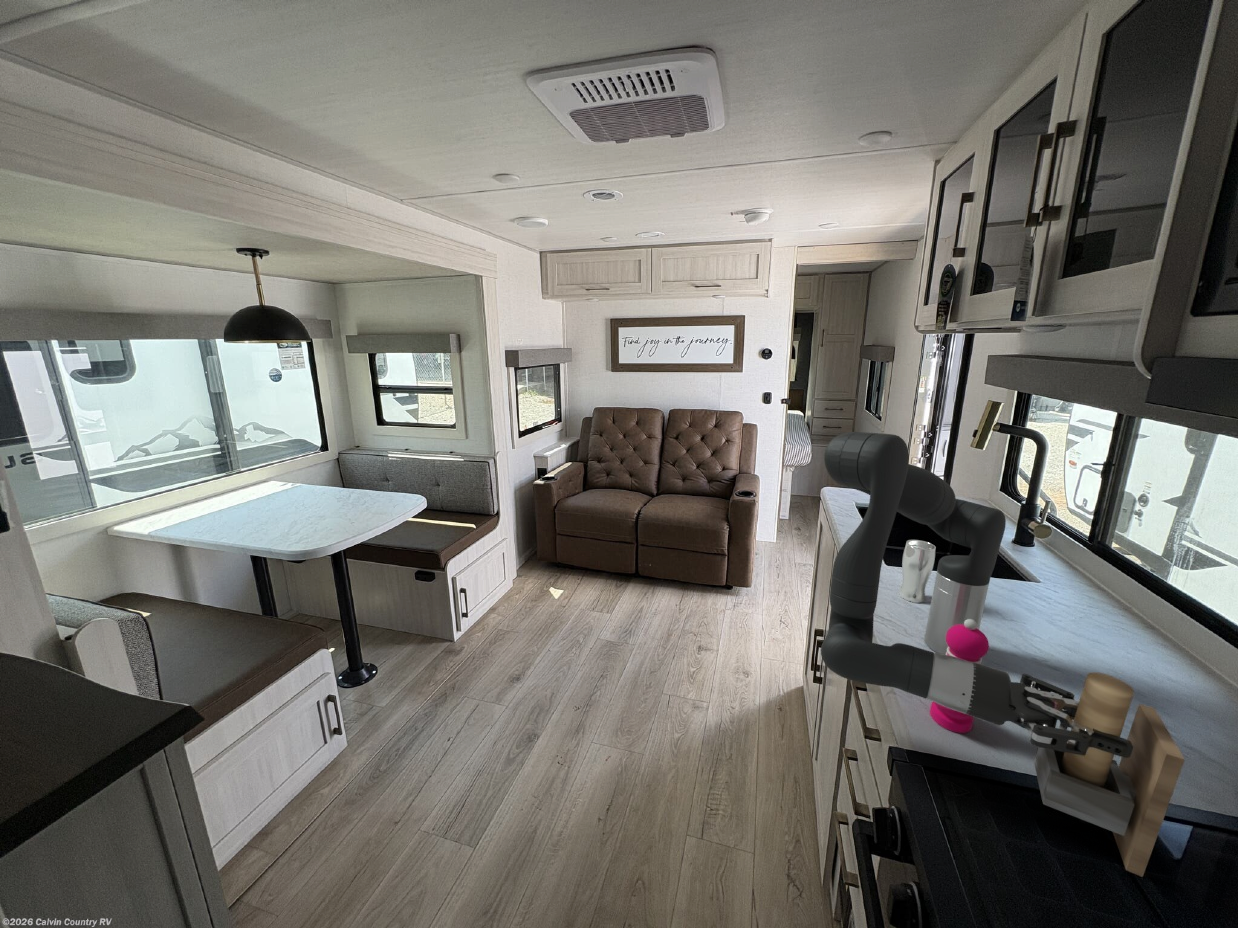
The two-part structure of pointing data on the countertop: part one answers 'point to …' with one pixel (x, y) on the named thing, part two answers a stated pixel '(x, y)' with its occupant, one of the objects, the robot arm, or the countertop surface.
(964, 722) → the pepper mill
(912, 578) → the beer glass
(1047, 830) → the countertop surface
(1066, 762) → the oak post
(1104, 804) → the cup bracket
